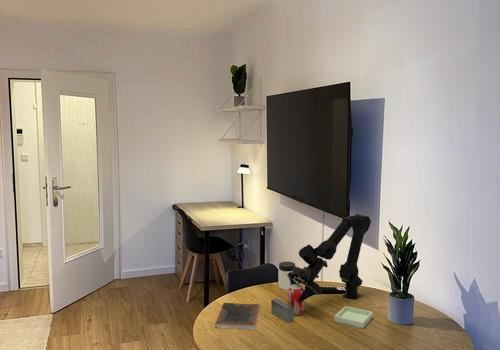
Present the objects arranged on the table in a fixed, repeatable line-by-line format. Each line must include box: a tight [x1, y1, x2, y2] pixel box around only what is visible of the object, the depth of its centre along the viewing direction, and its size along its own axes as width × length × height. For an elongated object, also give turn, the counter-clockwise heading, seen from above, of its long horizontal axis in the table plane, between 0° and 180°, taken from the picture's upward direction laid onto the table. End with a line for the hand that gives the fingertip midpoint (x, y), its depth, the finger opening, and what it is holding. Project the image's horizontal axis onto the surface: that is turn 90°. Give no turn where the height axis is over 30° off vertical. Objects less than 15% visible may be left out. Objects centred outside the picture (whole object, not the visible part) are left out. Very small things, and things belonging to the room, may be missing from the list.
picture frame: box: [214, 302, 261, 331], centre depth 198 cm, size 16×2×22 cm
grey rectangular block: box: [270, 297, 295, 323], centre depth 197 cm, size 3×12×6 cm, turn 32°
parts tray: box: [333, 305, 374, 330], centre depth 193 cm, size 12×12×2 cm
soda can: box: [287, 283, 305, 316], centre depth 201 cm, size 7×7×12 cm
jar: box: [277, 261, 296, 291], centre depth 231 cm, size 9×8×12 cm
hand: (293, 298), depth 200 cm, fingers open, 7 cm apart
